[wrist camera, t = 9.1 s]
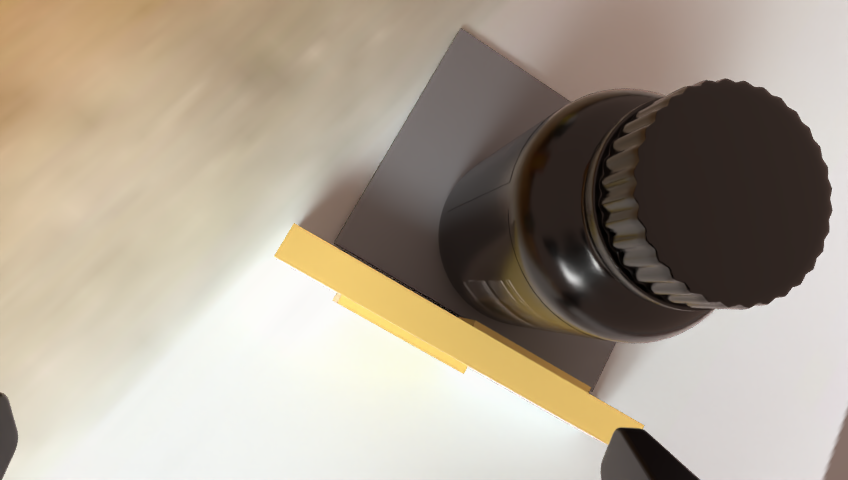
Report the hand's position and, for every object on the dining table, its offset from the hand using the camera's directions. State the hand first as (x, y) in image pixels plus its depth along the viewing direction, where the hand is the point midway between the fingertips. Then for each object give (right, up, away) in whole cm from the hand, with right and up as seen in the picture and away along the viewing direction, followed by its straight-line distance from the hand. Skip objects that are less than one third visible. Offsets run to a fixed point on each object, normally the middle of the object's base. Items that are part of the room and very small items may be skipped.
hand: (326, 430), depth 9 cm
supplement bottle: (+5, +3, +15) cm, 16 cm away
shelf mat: (+6, +4, +15) cm, 17 cm away
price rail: (+2, -1, +14) cm, 14 cm away
